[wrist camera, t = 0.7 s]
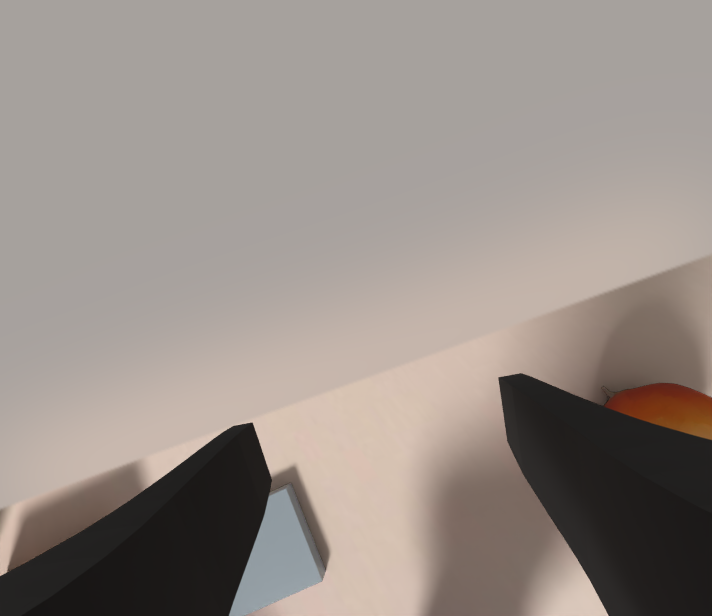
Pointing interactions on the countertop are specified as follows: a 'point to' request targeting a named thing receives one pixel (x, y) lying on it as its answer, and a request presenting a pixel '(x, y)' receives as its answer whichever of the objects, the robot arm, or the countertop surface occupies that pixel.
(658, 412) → the fruit
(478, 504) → the countertop surface
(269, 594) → the tile
